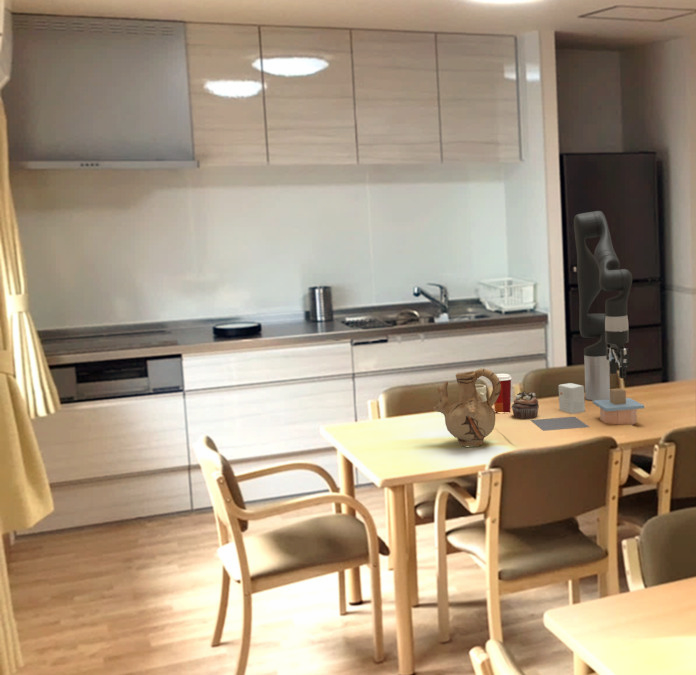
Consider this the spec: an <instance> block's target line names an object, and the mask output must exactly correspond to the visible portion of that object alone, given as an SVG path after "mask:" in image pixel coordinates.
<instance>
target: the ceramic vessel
mask: <svg viewBox="0 0 696 675" xmlns="http://www.w3.org/2000/svg"><path fill="white" fill-rule="evenodd" d="M481 377H485V378H486V379H488V380H489V381H490V383H491V386H492V385H493V386H492V391H491V394H490V396H489V398H488V399H487V401H485V402H482V398H481V397H480V395H479V393H478V392H477V391H476V386H475V385H476V382H477V380H478V379H479V378H481ZM455 378H456V383H457V386H458V387H457V389H458V396H457V397H458V399H457V401H456V402H455V403H452V402H451V401H450V398H449V395H448V385H449V381H445V383H444V384H443V385H440V386H438V388H437V393H438V394H439V400H438V403H437V404H435V406H434V407H432V410H433V411H434V412H437V413H441V415H443V416H444V421H445V427H446V429H447V431H448V432H449V433H450V434H451V436H453V437H454V438H456V439H457V443H458V444H459V445H460V446H461V445H462V446H461V447H463V446H469V447H468V448H471V447H470V446H477V447H479V446H478V445H481V446H483V445H484V444H485V438H486V437H488V436H490V434H491V433H492V432H493V430H494V429H495V426H496V412H495V408H493V406H494V403H495V402H496V400H497V398H498V396H499V394H500V390H501V384H500V381H499V379H498V377H497V376H496V375H495V372H493V371H492V370H489V369H487V368H478V369H476V370H471V371H464V372H458V373H455ZM482 444H483V445H482Z"/></svg>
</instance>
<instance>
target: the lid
mask: <svg viewBox="0 0 696 675" xmlns="http://www.w3.org/2000/svg"><path fill="white" fill-rule="evenodd" d="M593 404H594V405H595V406H596V407H598V408H599V409H600V408H601V409H603V410H605V411H617V410H630V409H637V410H638V409H640V410H641V409H645V405H644V404H642V403H640V402H638V401H636V400H635V399H632V398H630V397H627V394H626V390H625V389H623V388H613V389H611V388H610V399H608V400H595V401H594V400H592V405H593Z"/></svg>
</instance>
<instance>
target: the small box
mask: <svg viewBox="0 0 696 675" xmlns="http://www.w3.org/2000/svg"><path fill="white" fill-rule="evenodd" d="M585 401H586V400H585V385H581V384H577V383H573V382H568V383H562V384H558V406H559V411H562V412H564V413H568V414H572V415H573V414H579V413H580V414H581V413H585V412H586V408H585V406H586V404H585Z"/></svg>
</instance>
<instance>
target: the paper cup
mask: <svg viewBox="0 0 696 675" xmlns="http://www.w3.org/2000/svg"><path fill="white" fill-rule="evenodd" d="M494 374H495V373H494ZM495 375H496V376H497V377H498V379H499V381H500V384H501V390H500V394H499V396H498V398H497V400H496V402H495V403H494V404H493V406H494V411H496V412H509V413H510V412H511V406H512V405H511V403H512V402H511V400H512V398H511V396H512V395H511V394H512V390H511V389H512V379H513V377H512V376H511V374H509V373H496V374H495ZM491 386H492V387H493V385H492V384H491ZM496 412H495V413H496Z"/></svg>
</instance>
